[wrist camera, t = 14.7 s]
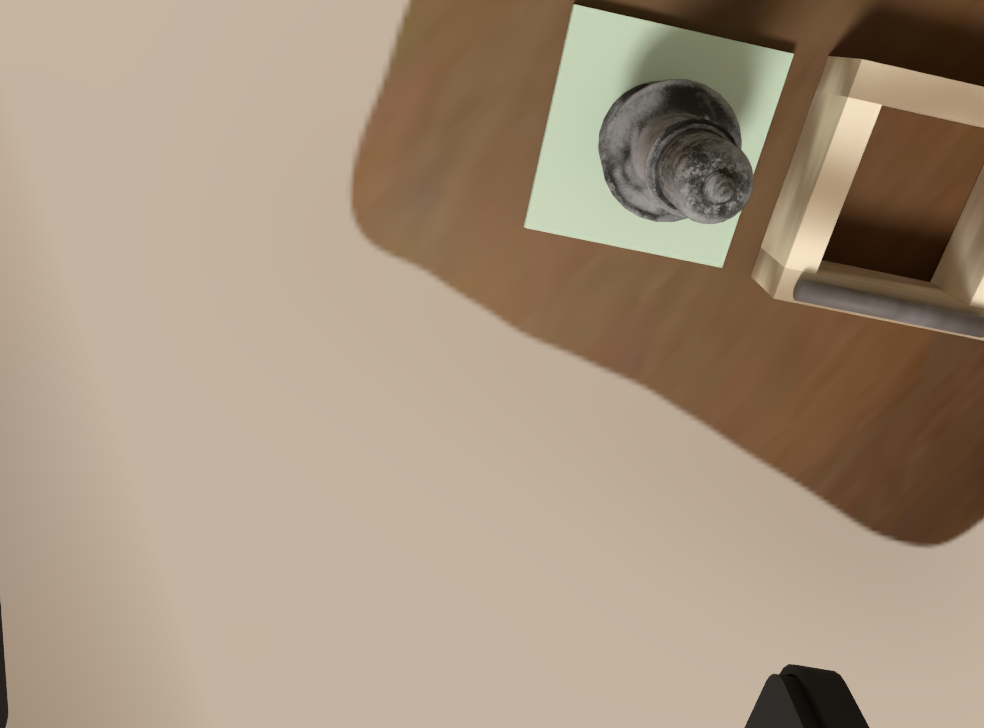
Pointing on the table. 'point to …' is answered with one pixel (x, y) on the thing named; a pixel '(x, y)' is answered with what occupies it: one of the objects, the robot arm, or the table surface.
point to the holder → (824, 186)
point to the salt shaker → (675, 153)
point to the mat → (600, 83)
